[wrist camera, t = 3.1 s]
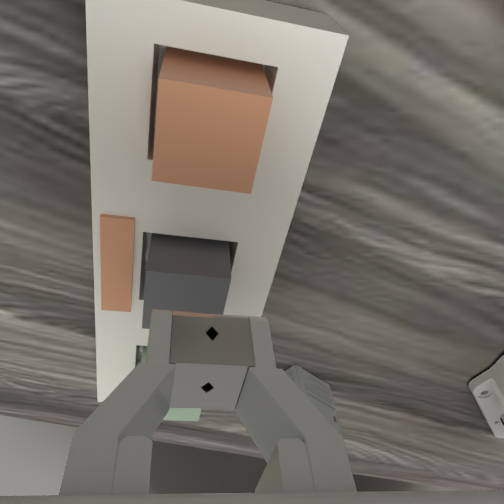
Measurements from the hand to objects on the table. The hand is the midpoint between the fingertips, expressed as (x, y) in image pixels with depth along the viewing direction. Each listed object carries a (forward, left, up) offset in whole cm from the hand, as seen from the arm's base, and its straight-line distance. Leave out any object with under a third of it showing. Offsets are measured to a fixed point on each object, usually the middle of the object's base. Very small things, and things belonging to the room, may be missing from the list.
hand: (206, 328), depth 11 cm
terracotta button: (0, 0, -16) cm, 16 cm away
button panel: (-9, +6, -20) cm, 22 cm away
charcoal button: (-9, +6, -16) cm, 20 cm away
